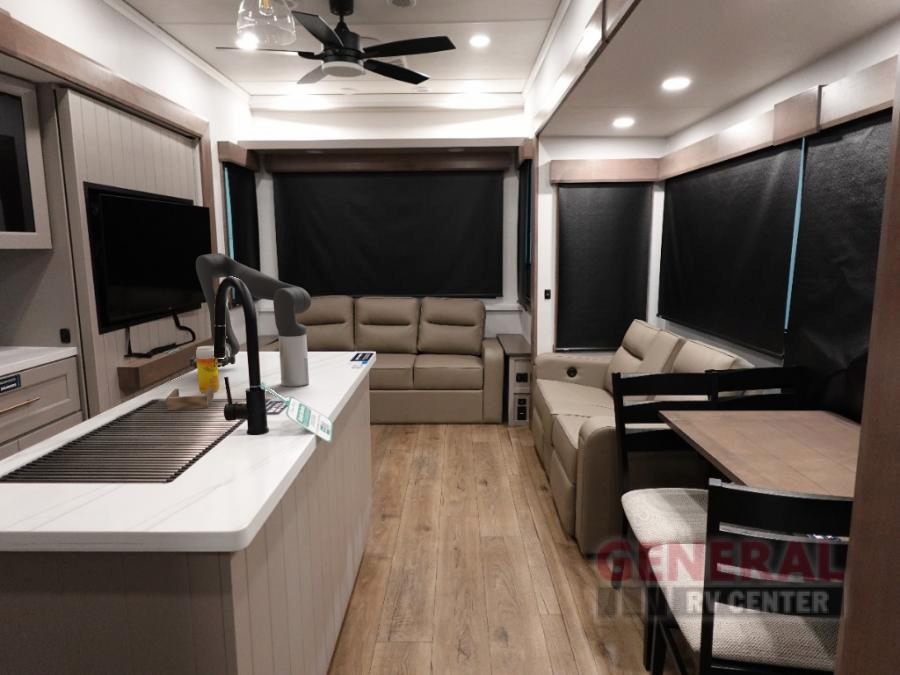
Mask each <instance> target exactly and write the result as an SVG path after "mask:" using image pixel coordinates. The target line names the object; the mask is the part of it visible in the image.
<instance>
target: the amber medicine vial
mask: <svg viewBox="0 0 900 675" xmlns="http://www.w3.org/2000/svg"><path fill="white" fill-rule="evenodd" d="M195 356H196V359H197V368H196V369H197V379H198V380H197V382H198V391H199V392H200V393H201V395H204V394H205V392H206V391H207V390H208V388H209V387H213V393H214V394H215V393H218V392H219V390H220V379H219V378H220V377H219V368H218V364H217V359H215V357H214V346H210V345H202V346H198V347H196V350H195Z"/></svg>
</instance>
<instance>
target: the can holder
mask: <svg viewBox="0 0 900 675" xmlns="http://www.w3.org/2000/svg"><path fill="white" fill-rule="evenodd" d="M179 390H180V389H179V388H174V389H173V390H172V392H171V393H170V394H169V395H168V396H166V398H165V400H166V401H165V402H166V411H176V410H178V411H179V410H189V409H190V410H191V409H192V410H193V409H205V408H209V406H210V404H211V403H212V401H213V400H214V398H215V397H214V396H215V393H213V387H209V388H208V390H207V391H206V392H205V394H201V395H186V396H180V392H179Z"/></svg>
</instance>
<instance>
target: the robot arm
mask: <svg viewBox="0 0 900 675" xmlns="http://www.w3.org/2000/svg"><path fill="white" fill-rule="evenodd" d="M195 269H196V275H197V277H198V281H199V283H200V286H201V289H202V292H203V295H204V297H205V300H206V304H207V308H208V312H209V319H210V325H211V329H212V331H213V327H214V304H215V296H216V292H217V291H216V289H215V285H214V280H215V279H220V278H227V277H229V276H233V277H236V278H239V279H241V280H242V281H243V282H244V283H245V284H246V286H247V287H248V289H249V291H250V293H251V295H252V296H251V297H253V298H254V299H255V298H256V299H260V300H267V301H273V311H274V312H273V313H274V322H275V327H276V330H277V334H278V348H279V351H278V352H279V366H280V368H279V370H280V381H281V382H280V383H281V384H280V385H282V386H283V387H301V386H305V385H309V384H310V375H309V374H310V373H309V357H308V344H307V343H308V342H307V340H308V339H307V327H306V325H304V324H301V323H299V322H297V320H296V315H299V314H303V313H305V312H307V311H308V310H309V309H310V308H311V304H312V301H311V300H312V299H311V296H310V294H309V293H308V291H306V290H305V289H304V288H303V287H300V286H297V285H293V284H289V283H286V282H283V281H281V280H278V279H276V278H274V277H272V276H270V275H268V274H265V273H263V272H261V271H259V270H257V269H254V268H251V267H249V266H248V265H245V264H242V263H240V262H239V261H236V260H235V259H233V258H231V257H230V256H228V255H226V254H225V253H224V254H223V253H221V252H216V253H215V252H214V253H207V254H201V255H199V256H198V257H197V258H196V260H195ZM225 338H226V357H225V358H224V359H217V364H218V369H219V368H221V367H222V368H225V366H228V365H229V364H230V365H235V363H236V355H237V354H239V352H240V348H241V347H240V343H239V340H238V338H237V337H236V334H235V332H234V330H233V326H232V320H231V314H230V310H229V307H228V305H227V304H226V335H225ZM210 341H211V342H210V344H209V346H214V339H212V340H210ZM188 361H189V367H190V368H191V367H193V368H194V369H197V359H196V355H193V356H191V357H190V358H189V359H188Z"/></svg>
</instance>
